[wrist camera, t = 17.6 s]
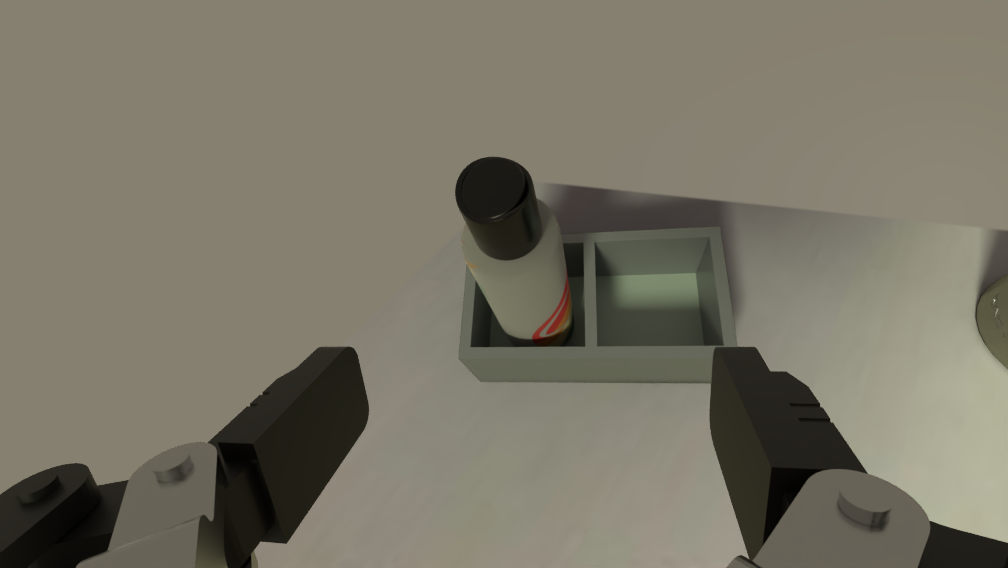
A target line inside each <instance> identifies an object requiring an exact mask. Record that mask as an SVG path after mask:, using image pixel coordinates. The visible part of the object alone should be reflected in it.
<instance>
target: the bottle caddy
mask: <svg viewBox="0 0 1008 568" xmlns="http://www.w3.org/2000/svg"><path fill="white" fill-rule="evenodd" d="M561 237H562V243H563V249H564V256H565V262H566V268H567V275H568V281H569V288H570V294H571V300H572V307H573V314H574V329H573V333H572V336H571V338H570V340H569V341H568V343H567V344H566V345H565V346H564V347H515V346H514V345H513V344H512V343H511V342H510V340H509V339H508V337H507V335H506V334H505V332H504V330H503V328H502V327H501V325H500V323H499V321H498V319H497V317H496V316H495V314H494V312H493V310H492V308H491V307H490V305H489V303H488V301H487V299H486V298H485V296H484V294H483V292H482V290H481V289H480V287H479V285H478V283H477V281H476V280H475V278H474V276H473V274H472V272H471V270H470V268H469V267H468V265H467V266H466V278H465V289H464V300H463V312H462V323H461V335H460V346H459V357H458V359H459V360H460V361H461V362H462V363H463V364H464V365H465V366H466V367H467V368H468V369H469V370H470V371H471V372H472V373H473V374H474V375H475V377H476V378H477V379H478V380H479V381H480V382H584V383H711V379H712V362H713V353H714V349H715V348H716V347H737V340H736V333H735V326H734V319H733V312H732V306H731V299H730V292H729V285H728V278H727V271H726V265H725V258H724V251H723V244H722V237H721V230H720V226H719V227H698V228H677V229H656V230H635V231H615V232H594V233H573V234H561Z"/></svg>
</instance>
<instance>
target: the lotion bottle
mask: <svg viewBox="0 0 1008 568" xmlns="http://www.w3.org/2000/svg"><path fill="white" fill-rule="evenodd" d="M455 196H456V202H457V205H458V207H459V210H460V212H461V214H462V216H463V218H464V220H465V222H466V223H465V226H464V228H463V231H462V237H461V246H462V252H463V255H464V258H465V260H466V262H467V265H468V267H469V268H470V270H471V272H472V274H473V276H474V278H475V280H476V281H477V283H478V285H479V287H480V289H481V290H482V292H483V294H484V296H485V298H486V299H487V301H488V303H489V305H490V307H491V308H492V310H493V312H494V314H495V316H496V317H497V319H498V321H499V323H500V325H501V327H502V328H503V330H504V332H505V334H506V335H507V337H508V339H509V340H510V342H511V343H512V344H513V345H514V346H515V347H564V346H565V345H566V344H567V343H568V341H569V340H570V338H571V336H572V333H573V329H574V314H573V307H572V300H571V294H570V288H569V281H568V275H567V268H566V262H565V256H564V249H563V243H562V237H561V232H560V227H559V224H558V221H557V219H556V217H555V215H554V213H553V212H552V210H551V209H550V208H549V207H548V206H547V205H546V204H545V203H543V202H542V201H541V200H539V199H537V198H536V195H535V190H534V186H533V181H532V179H531V176H530V174H529V173H528V171H527V170H526V169H525V168H524V167H523V166H521V165H520V164H518V163H516V162H514V161H512V160H509V159H506V158H501V157H486V158H481V159H478V160H476V161H474V162H472V163H471V164H469V165H468V166H467V167H466V168H465V169H464V170H463V171H462V173H461V174H460V176H459V178H458V180H457V184H456V189H455Z"/></svg>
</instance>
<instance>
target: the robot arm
mask: <svg viewBox="0 0 1008 568" xmlns="http://www.w3.org/2000/svg"><path fill="white" fill-rule="evenodd" d="M977 322H978V327H979V331H980V334H981V336H982V338H983V340H984V342H985V344H986V346H987V347H988V348H989V350H990V351H991V352H992V354H993V355H994V356H995V357H996V358H997V359H998V360H999V361H1000V362H1001V363H1002V364H1003V365H1004V366H1005V367H1006V368H1007V369H1008V274H1007V275H1006V276H1004V277H1002V278H1001V279H999V280H997V281H996V282H995V283H993V284H992V285H991V286H989V287H988V288H987V290H986V291H985V292H984V294H983V295H982V296H981V298H980V301H979V304H978V307H977ZM368 415H369V404H368V399H367V395H366V390H365V386H364V381H363V377H362V373H361V368H360V364H359V359H358V355H357V353H356V351H355V350H354V349H353V348H352V347H319V348H317V349H316V350H315V351H314V352H313V353H312V354H311V355H310V356H309V357H308V358H307V359H306V360H304V361H303V362H302V363H301V364H300V365H299V366H298V367H297V368H296V369H294V370H292V371H290V372H289V373H287V374H285V375H283V376H281V377H280V378H278V379H277V380H276V381H274V382H273V383H272V384H271V385H270V386H269V387H268V388H267V389H266V390H265V391H264V392H263V395H259V396H258V397H257V398H256V399H255V400H254V401H253V402H252V403H250V407H246V408H245V409H244V410H243V411H242V412H241V413H240V414H238V415H237V416H236V417H235V418H234V419H233V420H232V421H231V422H230V423H229V424H228V425H226V426H225V427H224V428H223V429H222V430H221V431H220V432H219V433H218V434H217V435H216V436H214V437H213V438H212V439H211V440H210V441H209V442H208V443H204V442H196V443H189V444H184V445H181V446H177V447H174V448H172V449H169V450H167V451H165V452H162V453H161V454H159V455H157V456H155V457H153V458H152V459H150V460H148V461H147V462H146V463H144V464H143V465H142V466H141V467H139V468H138V469H137V470H136V471H135V472H134V473H133V475H132V476H131V478H130V479H129V480H126V481H121V482H115V483H110V484H105V485H99V486H97V485H96V482H95V480H94V478H93V476H92V474H91V472H90V470H89V468H88V467H87V466H86V465H83V464H77V463H75V464H65V465H61V466H57V467H53V468H50V469H47V470H44V471H42V472H39V473H37V474H35V475H32V476H30V477H28V478H26V479H24V480H22V481H21V482H19V483H17V484H15V485H14V486H12V487H11V488H9V489H8V490H6V491H5V492H3V493H2V494H1V495H0V568H258V562H257V558H256V556H255V553H254V549H255V548H256V547H257V545H258V544H259V543H260V541H261V542H273V543H285V544H287V542H288V541H289V539H290V538H291V536H292V535H293V533H294V532H295V530H296V529H297V528H298V526H299V525H300V523H301V522H302V520H303V519H304V517H305V516H306V514H307V513H308V511H309V510H310V508H311V507H312V505H313V504H314V503H315V501H316V500H317V498H318V497H319V495H320V494H321V492H322V491H323V489H324V488H325V486H326V485H327V483H328V482H329V481H330V479H331V478H332V476H333V475H334V473H335V472H336V470H337V469H338V467H339V466H340V464H341V463H342V461H343V460H344V459H345V457H346V456H347V454H348V453H349V451H350V450H351V448H352V447H353V445H354V444H355V442H356V441H357V439H358V438H359V436H360V435H361V434H362V432H363V431H364V429H365V427H366V424H367V421H368ZM710 429H711V436H712V441H713V445H714V448H715V451H716V454H717V457H718V460H719V464H720V467H721V470H722V473H723V476H724V480H725V483H726V486H727V489H728V492H729V496H730V499H731V502H732V505H733V508H734V511H735V515H736V518H737V521H738V524H739V527H740V531H741V534H742V537H743V540H744V543H745V547H746V550H747V553H748V556H749V559H750V560H749V559H748V558H746V557H744V556H742V555H740V556H737V557H736V558H734V559H733V560H732V561H731V563H730V564H729V565H728V566H727V568H1008V543H1006V542H1002V541H998V540H994V539H991V538H987V537H983V536H979V535H975V534H972V533H968V532H964V531H960V530H956V529H953V528H949V527H946V526H943V525H940V524H937V523H934V522H932V521H929V519H928V517H927V515H926V513H925V511H924V510H923V509H922V507H921V506H920V505H919V504H918V503H917V502H916V501H915V500H914V499H913V498H912V497H911V496H910V495H908V494H907V493H906V492H904V491H903V490H901V489H900V488H898V487H897V486H895V485H893V484H891V483H889V482H887V481H885V480H883V479H880V478H878V477H875V476H872V475H870V474H868V473H867V472H866V470H865V469H864V467H863V466H862V464H861V463H860V462H859V460H858V459H857V457H856V456H855V454H854V453H853V451H852V450H851V448H850V447H849V445H848V444H847V443H846V441H845V440H844V438H843V437H842V435H841V434H840V432H839V431H838V429H837V428H836V427H835V425H834V424H833V423H831V422H830V418H829V416H828V415H827V413H826V412H825V410H824V409H823V408H822V407H820V403H819V402H818V400H817V399H816V397H815V396H814V394H813V393H812V392H811V390H810V389H809V387H808V386H807V385H805V384H804V383H802V382H801V381H799V380H798V379H796V378H795V377H793V376H792V375H790V374H789V373H788V372H770V370H769V369H768V367H767V365H766V363H765V362H764V360H763V358H762V357H761V355H760V353H759V352H758V350H757V349H756V348H755V347H716V348H715V349H714V353H713V362H712V379H711V397H710Z"/></svg>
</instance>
